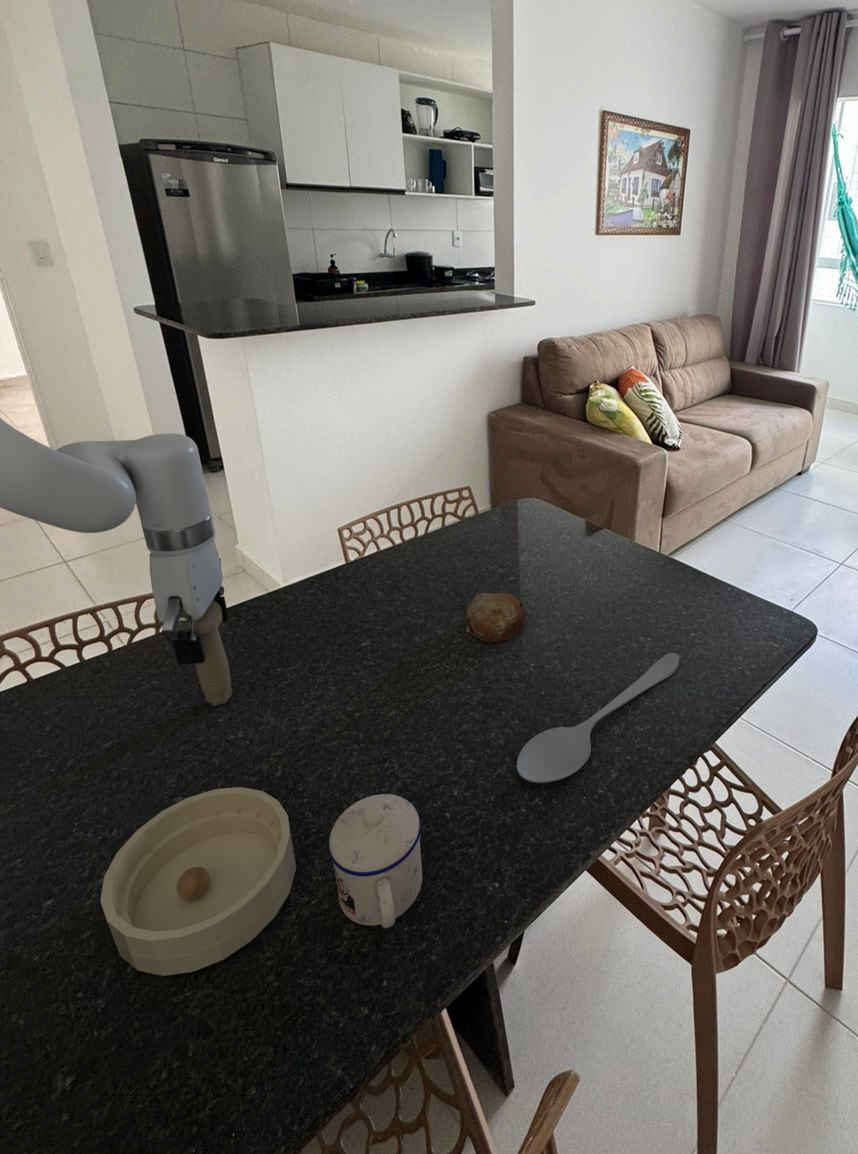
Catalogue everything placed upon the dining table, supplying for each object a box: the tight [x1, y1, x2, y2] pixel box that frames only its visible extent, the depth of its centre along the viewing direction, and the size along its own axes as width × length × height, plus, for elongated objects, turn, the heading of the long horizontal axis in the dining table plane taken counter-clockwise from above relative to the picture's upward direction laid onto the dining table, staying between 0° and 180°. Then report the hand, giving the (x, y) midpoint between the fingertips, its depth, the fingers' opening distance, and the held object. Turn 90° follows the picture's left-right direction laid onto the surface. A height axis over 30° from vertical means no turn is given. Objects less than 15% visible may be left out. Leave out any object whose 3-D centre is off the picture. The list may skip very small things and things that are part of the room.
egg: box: [176, 867, 210, 900], centre depth 69 cm, size 3×3×3 cm
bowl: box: [99, 786, 297, 977], centre depth 69 cm, size 17×17×6 cm
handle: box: [179, 600, 233, 707], centre depth 92 cm, size 5×6×15 cm
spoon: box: [516, 652, 680, 784], centre depth 96 cm, size 35×8×3 cm, turn 140°
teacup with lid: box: [327, 793, 423, 929], centre depth 68 cm, size 12×9×12 cm
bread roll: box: [465, 591, 526, 644], centre depth 114 cm, size 10×10×8 cm
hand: (204, 640), depth 91 cm, fingers open, 8 cm apart
